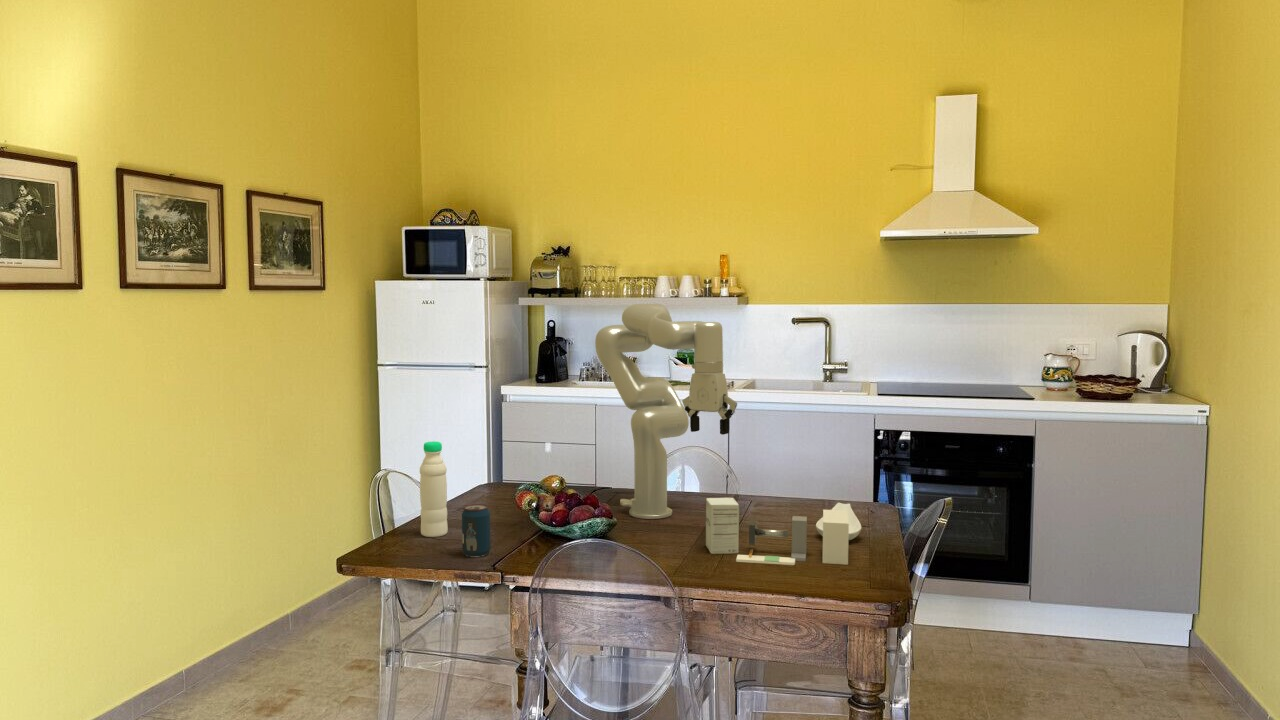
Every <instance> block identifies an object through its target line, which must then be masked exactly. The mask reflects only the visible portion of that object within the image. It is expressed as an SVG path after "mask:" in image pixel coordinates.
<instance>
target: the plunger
mask: <svg viewBox="0 0 1280 720" xmlns="http://www.w3.org/2000/svg"><path fill="white" fill-rule="evenodd" d="M759 536H762V537H782V538H788V537H789V530H786V529H785V530H783V529H770V528H769V529H766V528H763V529H762V528H758V519H756V518H751V519H750V521H749V524H748V545H749V546H755V545H756V542H757V537H759ZM748 552H749V553H748V555H749V556H752V555H753V552H754V549H753V548H750V549H749V551H748Z"/></svg>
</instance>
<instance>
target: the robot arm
mask: <svg viewBox="0 0 1280 720" xmlns="http://www.w3.org/2000/svg"><path fill="white" fill-rule="evenodd" d="M621 322H622V324H611V325H607V326H605V327H602V328H601V329H599V330H598V332H597V333H596V335H595V341H594V343H595V344H594V346H595V352H596V353H595V354H596V356H597V359H598V361H599V362H600V363H601V365H602V367H603V368H604V370H605V371H606V373H608V375H609V377H610V379H611V380H612V383H613V384H614V386H615V388H616V389H617V391H618V394H619V397H620V398H621V400H622V402H623V403H624V406H625V407H626V408H628V409H629V410H632V411H635V412H633V414H632V416H631V419H630V427H631V433H632V439H633V450H634V452H633V453H634V455H633V456H634V464H633V465H634V468H633V469H634V477H633V478H634V497H633V498H630V499H627V498H620V501H619V504H620V506H622V507H626V508H627V507H629V508H630V509H629V510H628V512H629V513H628V514H629V516H631V517H633V518H635V519H636V518H637V519H644V520H645V519H646V520H655V519H665V518H669V517H670V516H672V515H673V509H672V508H670V507H668V455H667V451H666V448H665V446H664V445H663V443H662V441H661V439H662V440H663V439H669V438H675V437H676V438H677V437H681V436H683V435H685V433H686V432H687V431H688V429H689V428H690V433H694V432H699V431H700V427H701V426H700V416H699V414H700V412H706V413H717V414H718V415H719V416H720V420H719V435H721V436H722V435H723V436H724V435H728V434H730V419H731V418H732V416H733V415H734V414H735V412H736V410H737V408H738V407H737V406H738V403H737V402H736V401H735V400H733V398H730V396H729V393H728V392H729V391H728V384H727V379H726V378H727V377H726V375H725V373H724V351H723V350H724V349H723V347H724V346H723V345H724V343H723V342H724V341H723V325H722V324H721V323H720V322H718V321H702V320H701V321H699V320H695V321H694V320H692V321H691V320H686V321H685V320H684V321H677V320H676V321H673V320H672V317H671V315H670V311H669V310H668V308H667V307H666V306H665V305H663V304H661V303H636V304H631V305H629V306H627V307H626V308H625V309H624V310H623V312H622V314H621ZM653 345H654V346H657V347H660V348H663V349H666V350H672V351H673V350H694V352H693V354H694V355H693V356H694V358H693V359H694V361H693V362H694V363H692V364H691V368H692V369H694V373H692V374H691V377H690V383H689V391H688V392H689V394H688V395H689V396H687V397H685V398H684V399H682V400H680V398H679V396H678V394H677V393H676V391H675V389H674V387H673V385H672V384H671V382H669V381H668V379H666V378H664V377H660V376H659V377H658V376H652V377H647V376H643V375H642V373H641V372H640V369H639V368H638V366H637V364H636V363H635V362H634V361H633V360H632V359H631V358H629V357H628V356H626V354H624V353H639V352H642V353H643V352H646V351H648V350H650V348H651V347H652V346H653ZM689 418H690V419H689ZM689 424H690V427H689Z"/></svg>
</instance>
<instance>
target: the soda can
mask: <svg viewBox="0 0 1280 720" xmlns="http://www.w3.org/2000/svg"><path fill="white" fill-rule="evenodd" d="M463 508H464V509H463V511H462V513H461V545H462V546H461V548H462V549H461V550H462V552H463V555H465V556H466V555H467V556H466V557H468V556H482V555H486V554H487V555H488V554H489V553H490V550H491V547H492V546H491V512H490V511H489V508H488V505H487V504H482V503H476V504H475V503H474V504H473V503H472V504H467V505H464V507H463ZM487 555H486V556H487Z"/></svg>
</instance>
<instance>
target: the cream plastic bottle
mask: <svg viewBox="0 0 1280 720" xmlns="http://www.w3.org/2000/svg"><path fill="white" fill-rule="evenodd" d="M442 449H443V446H442V442H440V441H435V440H433V441H427V442H424V443H423V451H424V452H423V453H424V454H425V456H424V458H423V460H422V463H421V465H420V467H419V474H420V478H419V479H420V481H419V496H420V507H421V508H420V521H421V522H420V534H421V535H422V536H423V537H426V538H438V537H443V536H445V535H447V533H448V530H449V529H448V528H449V527H448V520H447V519H448V508H447V505H448V504H447V502H448V486H447V485H448V484H447V466H446V464H445V461H444V459H443V458H442V456H441V452H442Z"/></svg>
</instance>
